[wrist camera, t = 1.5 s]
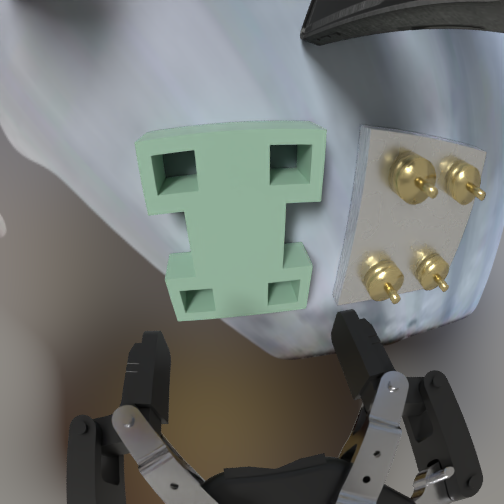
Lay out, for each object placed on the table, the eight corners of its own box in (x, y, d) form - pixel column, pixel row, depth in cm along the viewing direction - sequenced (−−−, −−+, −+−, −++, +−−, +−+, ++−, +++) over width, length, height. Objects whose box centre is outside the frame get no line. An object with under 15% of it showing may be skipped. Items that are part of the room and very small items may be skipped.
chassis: (332, 294, 26) (349, 332, 22) (360, 124, 16) (399, 142, 12) (434, 276, 27) (455, 303, 23) (476, 146, 17) (511, 166, 14)
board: (180, 295, 23) (177, 321, 21) (147, 132, 15) (134, 142, 13) (297, 283, 24) (305, 308, 22) (309, 121, 16) (326, 129, 14)
